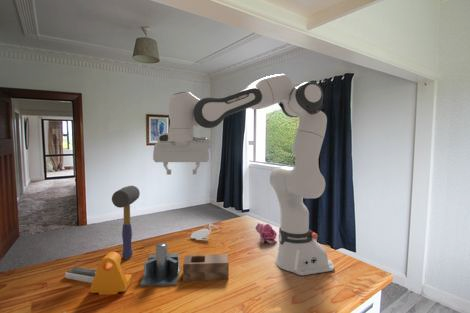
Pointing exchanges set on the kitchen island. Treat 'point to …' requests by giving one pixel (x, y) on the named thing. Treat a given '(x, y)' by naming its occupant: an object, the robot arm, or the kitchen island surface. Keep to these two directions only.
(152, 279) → the V-block
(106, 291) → the bracket
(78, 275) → the multiport hub
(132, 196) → the rubber mallet
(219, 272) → the walnut beam
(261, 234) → the flower
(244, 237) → the kitchen island surface
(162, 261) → the steel axle
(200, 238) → the figurine
